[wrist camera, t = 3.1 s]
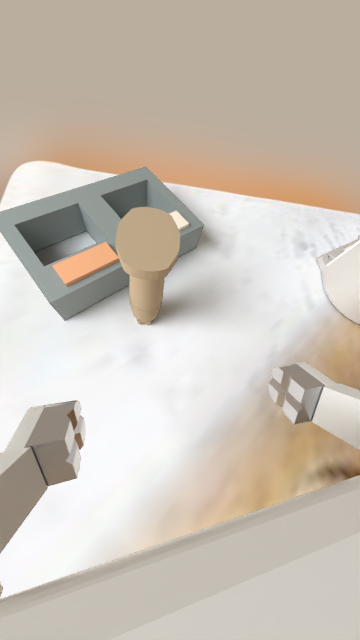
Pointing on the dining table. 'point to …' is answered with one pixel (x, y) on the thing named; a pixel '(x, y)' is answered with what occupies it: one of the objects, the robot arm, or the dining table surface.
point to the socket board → (101, 223)
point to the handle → (147, 257)
